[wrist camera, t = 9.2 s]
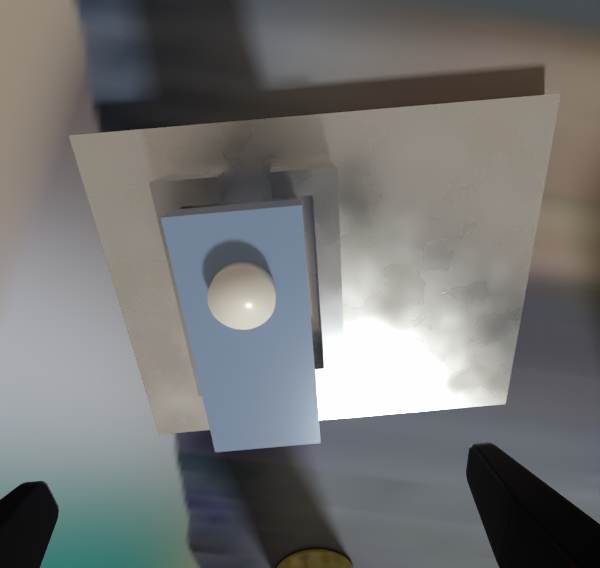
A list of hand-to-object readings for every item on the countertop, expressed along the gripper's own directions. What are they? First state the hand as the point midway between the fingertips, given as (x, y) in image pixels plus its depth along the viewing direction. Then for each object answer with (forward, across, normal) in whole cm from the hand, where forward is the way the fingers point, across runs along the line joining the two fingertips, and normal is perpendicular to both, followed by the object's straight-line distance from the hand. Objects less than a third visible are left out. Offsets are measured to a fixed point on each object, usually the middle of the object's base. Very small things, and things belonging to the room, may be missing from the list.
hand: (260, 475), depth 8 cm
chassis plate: (+12, -2, +1) cm, 12 cm away
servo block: (+11, +1, 0) cm, 11 cm away
